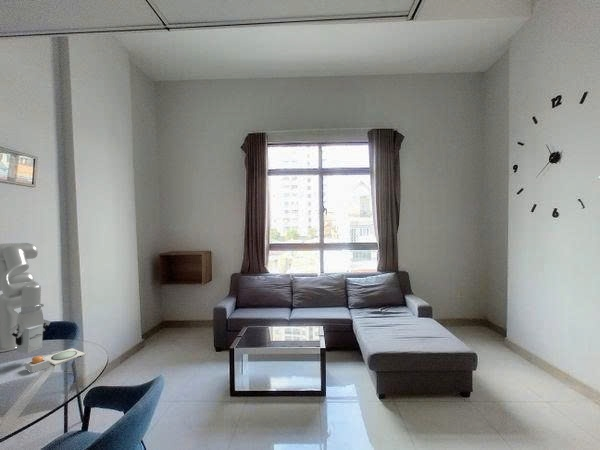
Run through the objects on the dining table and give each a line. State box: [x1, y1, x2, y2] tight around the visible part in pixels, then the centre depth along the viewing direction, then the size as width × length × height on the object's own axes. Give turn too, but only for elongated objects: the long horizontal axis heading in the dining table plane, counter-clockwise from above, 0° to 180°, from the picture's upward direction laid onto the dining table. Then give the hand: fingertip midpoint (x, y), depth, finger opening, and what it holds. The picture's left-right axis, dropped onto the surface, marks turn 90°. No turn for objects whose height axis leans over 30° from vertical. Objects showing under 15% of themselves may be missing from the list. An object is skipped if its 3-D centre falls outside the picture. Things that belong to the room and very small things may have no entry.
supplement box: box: [16, 324, 44, 354], centre depth 158 cm, size 7×7×13 cm
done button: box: [31, 355, 44, 364], centre depth 152 cm, size 4×4×3 cm
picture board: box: [43, 347, 86, 366], centre depth 165 cm, size 14×14×1 cm
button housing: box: [24, 358, 50, 373], centre depth 152 cm, size 7×7×4 cm
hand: (30, 341), depth 158 cm, fingers closed on supplement box, 8 cm apart
